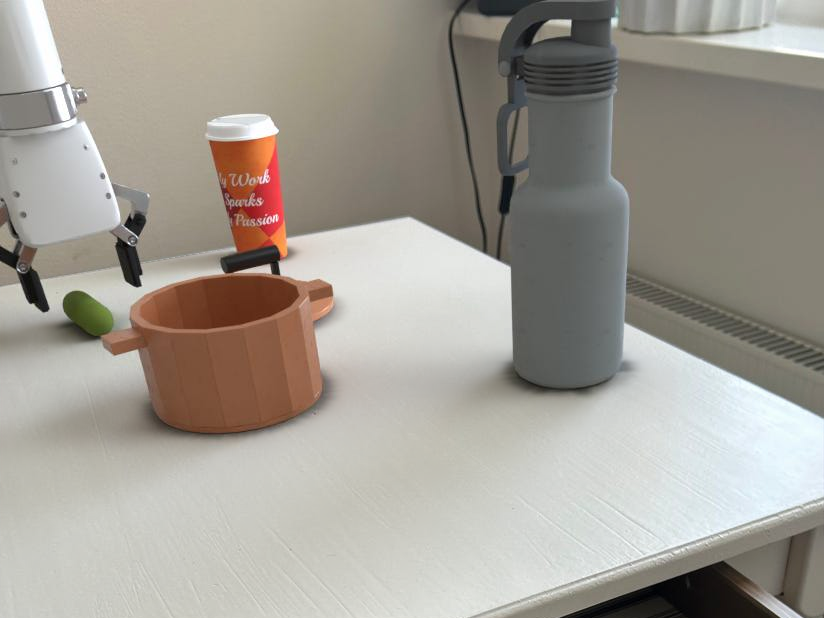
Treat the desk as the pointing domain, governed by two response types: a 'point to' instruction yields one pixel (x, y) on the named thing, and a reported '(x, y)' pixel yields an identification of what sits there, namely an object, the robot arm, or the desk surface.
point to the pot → (227, 350)
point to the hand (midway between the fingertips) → (89, 296)
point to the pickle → (88, 313)
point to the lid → (271, 257)
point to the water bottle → (565, 196)
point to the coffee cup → (249, 179)
